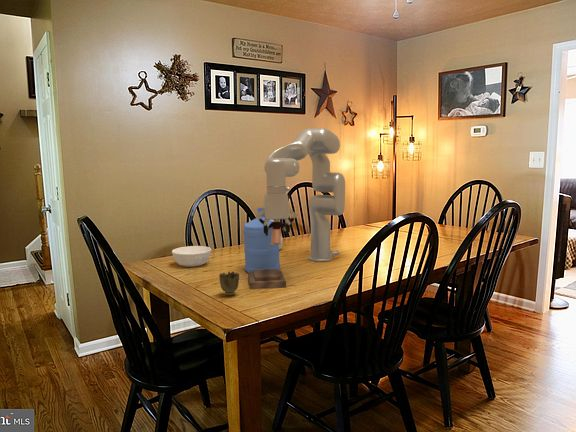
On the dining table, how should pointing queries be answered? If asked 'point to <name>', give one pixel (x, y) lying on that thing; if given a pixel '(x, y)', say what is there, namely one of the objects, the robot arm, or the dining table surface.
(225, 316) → the dining table surface
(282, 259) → the dining table surface
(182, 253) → the bowl
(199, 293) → the dining table surface
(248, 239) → the water jug
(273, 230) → the grandmother figurine
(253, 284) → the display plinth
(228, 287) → the cup
